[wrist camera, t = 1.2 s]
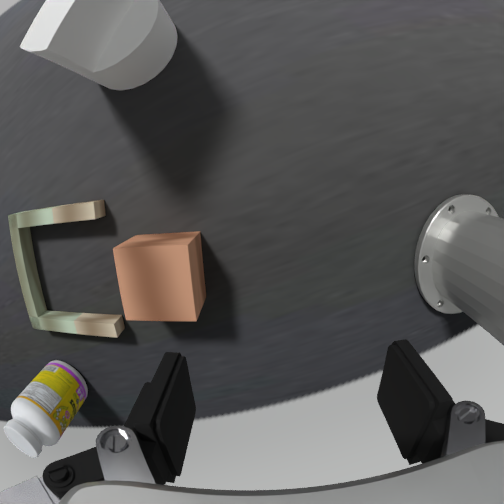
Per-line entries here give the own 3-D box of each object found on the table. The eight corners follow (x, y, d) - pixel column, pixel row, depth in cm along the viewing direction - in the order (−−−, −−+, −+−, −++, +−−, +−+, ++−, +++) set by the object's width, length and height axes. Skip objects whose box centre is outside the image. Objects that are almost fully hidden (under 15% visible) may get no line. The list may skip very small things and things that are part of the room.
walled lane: (104, 199, 25) (93, 202, 23) (124, 328, 28) (117, 337, 26) (19, 212, 25) (8, 215, 23) (42, 320, 28) (33, 328, 27)
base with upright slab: (150, 100, 23) (78, 58, 11) (77, 80, 22) (-4, 49, 10) (194, 19, 21) (159, -59, 9) (118, 6, 20) (61, -52, 8)
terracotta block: (200, 231, 26) (187, 244, 21) (206, 296, 27) (196, 321, 22) (136, 234, 26) (112, 248, 21) (145, 296, 27) (126, 319, 23)
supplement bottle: (83, 406, 32) (43, 470, 19) (45, 377, 31) (-3, 434, 18) (95, 380, 30) (47, 452, 18) (53, 348, 29) (-5, 409, 17)
